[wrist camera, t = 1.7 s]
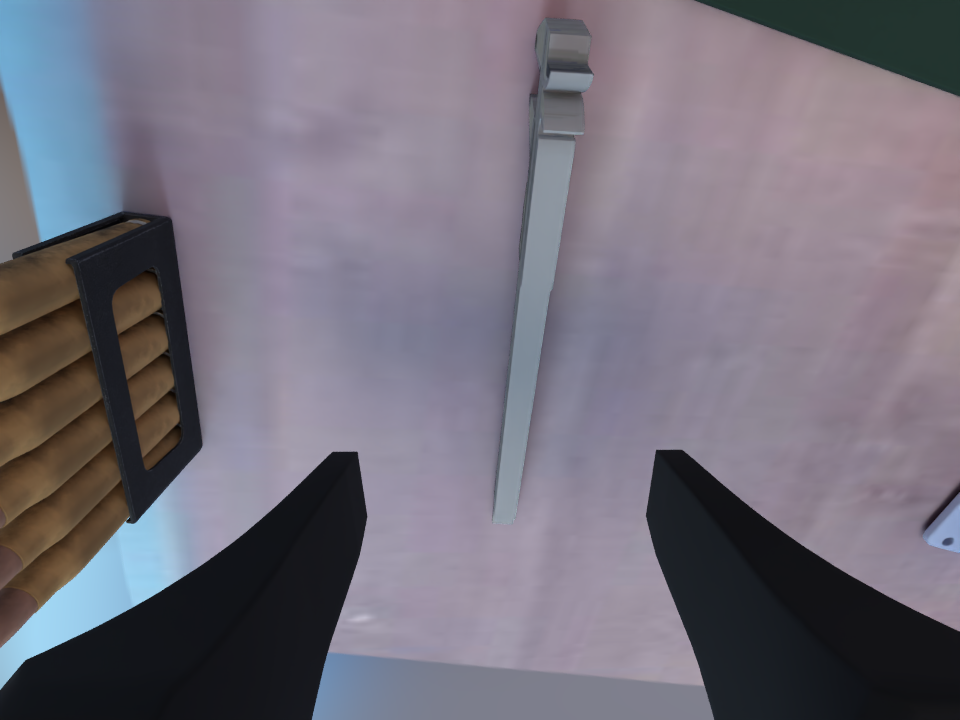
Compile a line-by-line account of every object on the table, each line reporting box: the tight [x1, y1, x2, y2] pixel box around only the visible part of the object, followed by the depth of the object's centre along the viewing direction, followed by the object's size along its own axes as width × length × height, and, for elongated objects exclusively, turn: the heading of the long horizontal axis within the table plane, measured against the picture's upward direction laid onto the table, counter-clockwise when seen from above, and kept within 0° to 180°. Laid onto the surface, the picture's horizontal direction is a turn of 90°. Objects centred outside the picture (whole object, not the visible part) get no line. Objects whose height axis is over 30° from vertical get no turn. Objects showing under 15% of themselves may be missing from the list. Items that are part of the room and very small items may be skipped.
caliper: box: [492, 18, 594, 524], centre depth 19 cm, size 20×1×6 cm, turn 177°
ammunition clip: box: [0, 212, 202, 648], centre depth 17 cm, size 11×2×12 cm, turn 173°
